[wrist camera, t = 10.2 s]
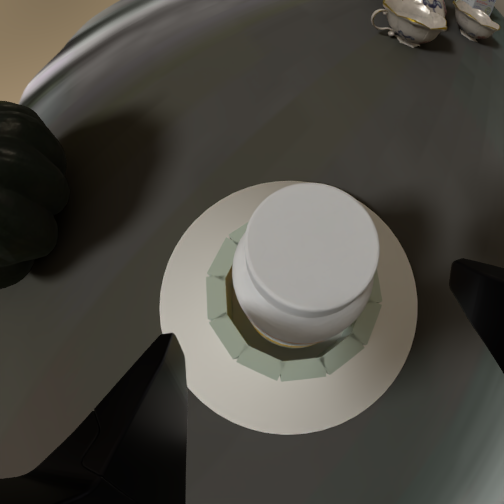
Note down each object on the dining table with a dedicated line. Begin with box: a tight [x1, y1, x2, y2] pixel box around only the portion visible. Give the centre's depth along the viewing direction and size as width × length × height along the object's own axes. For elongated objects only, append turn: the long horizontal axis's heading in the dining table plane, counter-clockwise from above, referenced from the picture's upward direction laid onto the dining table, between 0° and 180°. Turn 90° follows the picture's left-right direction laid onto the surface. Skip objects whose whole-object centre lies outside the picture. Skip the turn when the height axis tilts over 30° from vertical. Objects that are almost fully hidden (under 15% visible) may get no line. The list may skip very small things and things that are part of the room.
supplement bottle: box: [232, 183, 380, 348], centre depth 13 cm, size 5×5×10 cm
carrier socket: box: [160, 181, 418, 435], centre depth 17 cm, size 16×16×4 cm
